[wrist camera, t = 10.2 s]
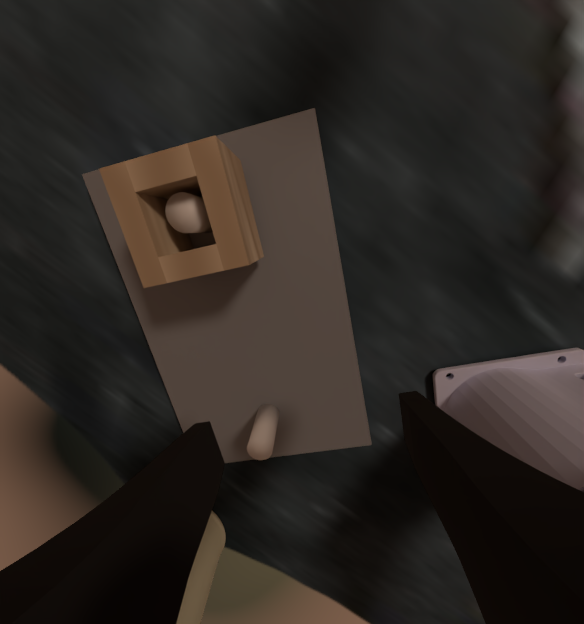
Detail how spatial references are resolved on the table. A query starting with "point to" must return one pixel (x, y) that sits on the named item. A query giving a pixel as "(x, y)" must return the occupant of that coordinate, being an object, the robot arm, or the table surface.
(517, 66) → the table surface
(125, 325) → the table surface
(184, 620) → the can
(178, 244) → the ash collar
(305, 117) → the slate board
